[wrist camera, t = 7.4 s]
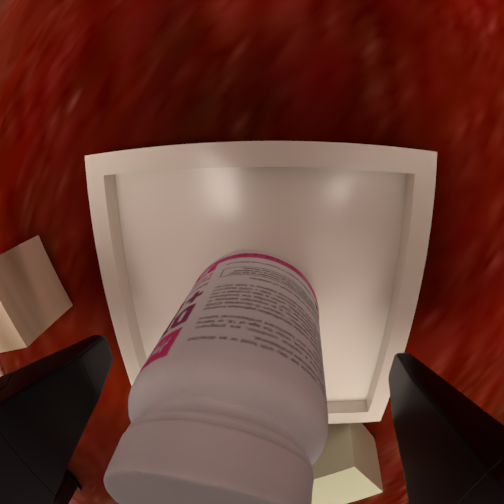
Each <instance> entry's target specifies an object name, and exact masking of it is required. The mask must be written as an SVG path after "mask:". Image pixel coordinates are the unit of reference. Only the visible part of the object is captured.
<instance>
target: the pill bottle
mask: <svg viewBox="0 0 504 504" xmlns="http://www.w3.org/2000/svg"><path fill="white" fill-rule="evenodd" d="M128 412H129V418H130V421H131V424H130V425H129V427H128V428H127V431H125V432H124V433H123V435H122V436H121V439H120V441H119V443H118V446H117V448H116V450H115V452H114V455H113V457H112V459H111V461H110V463H109V465H108V468H107V470H106V472H105V475H104V486H105V488H106V490H107V492H108V493H109V494H110V496H111V497H112V498H113V499H114V500H115V501H116V502H117V503H118V504H311V503H312V490H313V483H314V475H313V468H312V465H313V464H314V463H315V462H316V461H317V459H318V458H319V456H320V455H321V453H322V451H323V450H324V447H325V444H326V441H327V437H328V408H327V397H326V387H325V376H324V366H323V357H322V347H321V336H320V325H319V308H318V303H317V299H316V295H315V292H314V290H313V287H312V285H311V284H310V282H309V280H308V279H307V277H306V276H305V275H304V274H303V273H302V272H301V271H300V270H299V269H298V268H297V267H296V266H294V265H293V264H292V263H290V262H288V261H286V260H285V259H283V258H280V257H278V256H275V255H273V254H270V253H265V252H260V251H241V252H236V253H232V254H229V255H227V256H224V257H222V258H220V259H218V260H217V261H215V262H214V263H212V264H211V265H210V266H209V267H207V268H206V269H205V271H204V272H203V273H202V274H201V275H200V277H199V278H198V279H197V281H196V283H195V284H194V286H193V288H192V289H191V291H190V293H189V294H188V296H187V297H186V299H185V300H184V302H183V304H182V305H181V306H180V308H179V310H178V311H177V313H176V315H175V316H174V318H173V319H172V320H171V322H170V324H169V326H168V327H167V329H166V330H165V332H164V333H163V335H162V336H161V338H160V339H159V341H158V343H157V345H156V346H155V348H154V350H153V351H152V352H151V354H150V356H149V357H148V359H147V361H146V362H145V364H144V365H143V367H142V369H141V370H140V372H139V374H138V375H137V377H136V379H135V381H134V383H133V385H132V388H131V390H130V394H129V399H128Z"/></svg>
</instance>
